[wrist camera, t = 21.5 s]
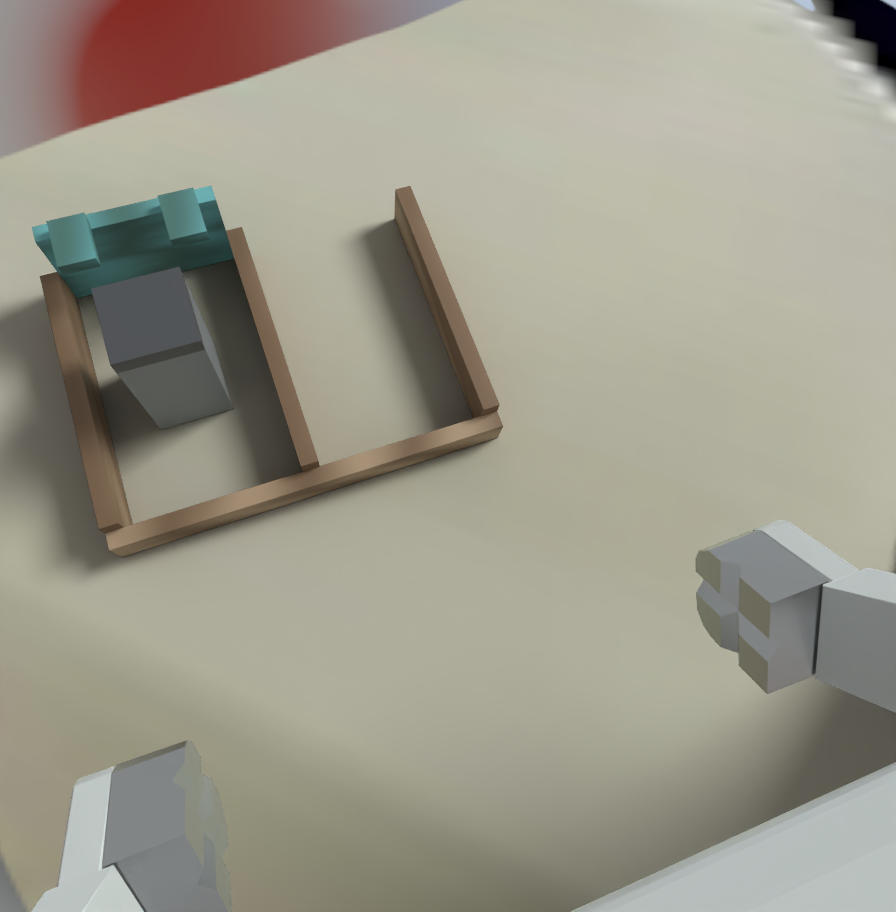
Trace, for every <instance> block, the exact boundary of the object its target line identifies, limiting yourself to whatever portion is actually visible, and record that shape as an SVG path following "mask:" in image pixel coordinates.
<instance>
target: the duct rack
mask: <svg viewBox="0 0 896 912" xmlns="http://www.w3.org/2000/svg"><path fill="white" fill-rule="evenodd" d="M395 221H396V223H397V226H398V228H399V231H400V234H401V236H402V239H403V241H404V244H405V246H406V249H407V251H408V254H409V256H410V259H411V261H412V264H413V266H414V269H415V271H416V274H417V277H418V279H419V282H420V284H421V287H422V289H423V292H424V294H425V297H426V299H427V302H428V304H429V307H430V309H431V312H432V314H433V317H434V320H435V322H436V325H437V327H438V330H439V332H440V335H441V337H442V340H443V342H444V345H445V347H446V350H447V352H448V355H449V357H450V360H451V363H452V365H453V368H454V370H455V373H456V375H457V378H458V380H459V383H460V385H461V388H462V390H463V393H464V395H465V398H466V400H467V403H468V406H469V408H470V411H471V413H472V416H473V419H470V420H467V421H464V422H461V423H457V424H454V425H451V426H448V427H444V428H441V429H438V430H435V431H432V432H428V433H425V434H422V435H419V436H416V437H412V438H409V439H406V440H403V441H399V442H396V443H393V444H390V445H387V446H383V447H380V448H377V449H374V450H371V451H367V452H364V453H361V454H358V455H354V456H351V457H348V458H345V459H342V460H338V461H335V462H332V463H329V464H326V465H322V466H319V462H318V459H317V456H316V453H315V449H314V446H313V443H312V440H311V437H310V434H309V431H308V428H307V425H306V422H305V419H304V416H303V413H302V410H301V407H300V404H299V400H298V397H297V394H296V391H295V388H294V385H293V382H292V379H291V376H290V373H289V370H288V367H287V364H286V361H285V358H284V355H283V352H282V348H281V345H280V342H279V339H278V336H277V333H276V330H275V327H274V324H273V321H272V318H271V315H270V312H269V309H268V306H267V303H266V299H265V296H264V293H263V290H262V287H261V284H260V281H259V278H258V275H257V272H256V269H255V266H254V263H253V260H252V257H251V254H250V251H249V247H248V244H247V241H246V238H245V235H244V232H243V229H242V227H240V228H236V229H232V230H227V231H226V230H225V227H224V224H223V221H222V218H221V214H220V211H219V208H218V205H217V202H216V199H215V196H214V193H213V189H212V186H208V187H204V188H199V189H195V190H194V189H193V188H189V189H185V190H180V191H176V192H172V193H167V194H163V195H159V196H158V198H156V199H152V200H147V201H143V202H139V203H134V204H130V205H126V206H121V207H117V208H113V209H108V210H104V211H100V212H96V213H91V214H87V215H85V214H84V213H81V214H76V215H72V216H68V217H63V218H59V219H55V220H50V221H46V222H47V224H44V225H39V226H35V227H32V230H33V234H34V238H35V242H36V244H37V245H38V246H39V248H40V249H41V250H42V252H43V253H44V254H45V256H46V257H47V258H48V260H49V261H50V262H51V264H52V265H53V267H54V268H55V269H56V271H57V272H55V273H51V274H47V275H43V276H40V279H41V283H42V288H43V292H44V296H45V301H46V305H47V309H48V313H49V318H50V322H51V326H52V331H53V335H54V339H55V343H56V348H57V352H58V356H59V361H60V365H61V369H62V373H63V378H64V382H65V386H66V391H67V395H68V399H69V404H70V408H71V412H72V416H73V421H74V425H75V429H76V434H77V438H78V442H79V446H80V451H81V455H82V459H83V464H84V468H85V472H86V477H87V481H88V485H89V489H90V494H91V498H92V502H93V507H94V511H95V515H96V519H97V524H98V528H99V529H100V530H101V531H103V532H104V533H105V534H106V538H107V543H108V547H109V550H110V551H111V552H113V553H115V554H117V555H118V556H120V557H124V556H127V555H130V554H133V553H136V552H139V551H143V550H146V549H149V548H152V547H155V546H158V545H161V544H165V543H168V542H171V541H174V540H177V539H180V538H183V537H186V536H190V535H193V534H196V533H199V532H202V531H205V530H208V529H212V528H215V527H218V526H221V525H224V524H227V523H230V522H234V521H237V520H240V519H243V518H246V517H249V516H252V515H256V514H259V513H262V512H265V511H268V510H271V509H274V508H278V507H281V506H284V505H287V504H290V503H293V502H296V501H300V500H303V499H306V498H309V497H312V496H315V495H318V494H321V493H325V492H328V491H331V490H334V489H337V488H340V487H343V486H347V485H350V484H353V483H356V482H359V481H362V480H365V479H369V478H372V477H375V476H378V475H381V474H384V473H387V472H391V471H394V470H397V469H400V468H403V467H406V466H409V465H413V464H416V463H419V462H422V461H425V460H428V459H431V458H435V457H438V456H441V455H444V454H447V453H450V452H453V451H457V450H460V449H463V448H466V447H469V446H472V445H475V444H478V443H482V442H485V441H488V440H491V439H494V438H497V437H498V436H499V434H500V431H501V429H502V427H503V425H502V422H501V420H500V417H499V415H498V412H497V410H498V407H499V402H498V400H497V397H496V395H495V392H494V390H493V388H492V385H491V383H490V380H489V378H488V375H487V373H486V370H485V368H484V366H483V363H482V361H481V358H480V356H479V353H478V351H477V348H476V346H475V343H474V341H473V339H472V336H471V334H470V331H469V329H468V326H467V324H466V321H465V319H464V317H463V314H462V312H461V309H460V307H459V304H458V302H457V299H456V297H455V294H454V292H453V290H452V287H451V285H450V282H449V280H448V277H447V275H446V272H445V270H444V267H443V265H442V263H441V260H440V258H439V255H438V253H437V250H436V248H435V245H434V243H433V241H432V238H431V236H430V233H429V231H428V228H427V226H426V223H425V221H424V218H423V216H422V214H421V211H420V209H419V206H418V204H417V201H416V199H415V196H414V194H413V192H412V189H411V187H410V186H408V187H404V188H400V189H396V190H395ZM231 259H235V261H236V265H237V268H238V271H239V274H240V277H241V280H242V283H243V287H244V290H245V293H246V296H247V299H248V302H249V305H250V308H251V312H252V315H253V318H254V321H255V324H256V327H257V330H258V334H259V337H260V340H261V343H262V346H263V349H264V352H265V355H266V359H267V362H268V365H269V368H270V371H271V374H272V377H273V381H274V384H275V387H276V390H277V393H278V396H279V399H280V402H281V406H282V409H283V412H284V415H285V418H286V421H287V424H288V428H289V431H290V434H291V437H292V440H293V443H294V446H295V449H296V453H297V456H298V459H299V462H300V465H301V468H302V471H303V472H300V473H297V474H293V475H290V476H287V477H284V478H281V479H277V480H274V481H271V482H268V483H265V484H261V485H258V486H255V487H252V488H248V489H245V490H242V491H239V492H236V493H232V494H229V495H226V496H223V497H220V498H216V499H213V500H210V501H207V502H203V503H200V504H197V505H194V506H191V507H187V508H184V509H181V510H178V511H175V512H171V513H168V514H165V515H162V516H158V517H155V518H152V519H149V520H146V521H142V522H139V523H136V524H132V520H131V516H130V512H129V508H128V504H127V499H126V495H125V491H124V487H123V483H122V479H121V475H120V471H119V467H118V463H117V459H116V455H115V451H114V447H113V443H112V439H111V435H110V431H109V426H108V422H107V418H106V414H105V410H104V406H103V402H102V398H101V394H100V390H99V386H98V382H97V378H96V374H95V370H94V366H93V362H92V358H91V353H90V349H89V345H88V341H87V337H86V333H85V329H84V325H83V321H82V317H81V313H80V309H79V305H78V301H77V298H79V297H83V296H87V295H91V294H92V290H91V288H95V287H99V286H103V285H107V284H111V283H115V282H119V281H123V280H127V279H131V278H135V277H139V276H144V275H148V274H152V273H156V272H160V271H164V270H168V269H172V268H176V267H180V269H181V271H182V272H183V271H187V270H191V269H195V268H199V267H203V266H207V265H211V264H215V263H219V262H223V261H227V260H231Z"/></svg>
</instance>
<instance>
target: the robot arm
mask: <svg viewBox="0 0 896 912" xmlns="http://www.w3.org/2000/svg"><path fill="white" fill-rule="evenodd" d="M696 572H697V573H698V574H699V575H700V576H701V577H702V578H703V579H704V580H703V582H702V584H701V585H700V587H699V589H698V591H697V592H696V597H697V610H698V612H699V615H700V618H701V620H702V623H703V625H704V627H705V628H706V630H707V632H708V633H709V635H710V636H711V637H712V638H713V639H714V640H715V642H716V643H717V644H718V645H719V646H720V647H722V648H725V649H728V650H731V651H734V652H737V653H738V657H739V666H740V667H741V668H742V669H743V670H744V671H745V672H746V673H747V674H748V675H749V676H750V677H751V678H752V679H753V680H754V681H755V682H756V683H757V684H758V685H759V686H760V687H761V688H762V689H763V690H764V691H765V692H766V693H767V694H769V693H771V692H774V691H777V690H779V689H782V688H784V687H787V686H790V685H792V684H795V683H797V682H800V681H802V680H805V679H808V678H810V677H813V676H815V679H818V680H820V681H822V682H824V683H827V684H829V685H831V686H834V687H836V688H838V689H841V690H843V691H845V692H848V693H850V694H852V695H855V696H857V697H859V698H861V699H864V700H866V701H868V702H871V703H873V704H875V705H878V706H880V707H882V708H885V709H887V710H889V711H892V712H894V713H896V574H895V573H891V572H886V571H882V570H877V569H873V568H868V567H867V568H864V569H862V570H858V569H857V568H855V567H854V566H852V565H851V564H850V563H848V562H847V561H845V560H844V559H842V558H841V557H839V556H838V555H837V554H835V553H834V552H832V551H831V550H829V549H828V548H826V547H825V546H824V545H822V544H821V543H819V542H818V541H816V540H815V539H813V538H812V537H811V536H809V535H808V534H806V533H805V532H803V531H802V530H800V529H799V528H798V527H796V526H795V525H793V524H792V523H790V522H788V521H785V520H781V519H779V520H777V521H774V522H771V523H769V524H766V525H764V526H761V527H759V528H756V529H753V530H752V531H750V532H746V533H744V534H741V535H739V536H736V537H733V538H731V539H728V540H725V541H723V542H720V543H718V544H715V545H712V546H710V547H707V548H704V549H702V550H699V552H698V554H697V557H696ZM227 846H228V836H227V825H226V820H225V815H224V810H223V806H222V802H221V800H220V797H219V794H218V791H217V789H216V787H215V785H214V782H213V780H212V778H209V777H207V776H204V775H202V774H201V757H200V755H199V753H198V751H197V749H196V748H195V746H194V744H193V742H192V741H188V740H186V741H184V742H181V743H178V744H175V745H172V746H169V747H166V748H163V749H160V750H157V751H155V752H152V753H149V754H146V755H143V756H140V757H137V758H134V759H131V760H129V761H126V762H123V763H120V764H117V765H116V766H114V767H111V768H108V769H105V770H102V771H99V772H96V773H93V774H90V775H87V776H84V777H81V778H79V779H78V781H77V783H76V784H75V786H74V788H73V790H72V796H71V802H70V809H69V815H68V821H67V827H66V833H65V839H64V846H63V852H62V858H61V864H60V870H59V877H58V883H57V887H56V888H53V889H51V890H48V891H46V892H45V893H44V894H43V895H42V897H41V898H40V900H39V901H38V902H37V904H36V905H35V906H34V908H33V909H32V911H31V912H232V901H231V883H230V873H229V871H228V869H227V867H226V865H225V863H224V861H223V859H222V855H223V853H224V851H225V849H226V848H227ZM570 912H896V762H895V763H892V764H890V765H888V766H886V767H884V768H882V769H879V770H877V771H875V772H873V773H871V774H868V775H866V776H864V777H862V778H860V779H858V780H855V781H853V782H851V783H849V784H847V785H844V786H842V787H840V788H838V789H836V790H834V791H831V792H829V793H827V794H825V795H823V796H821V797H818V798H816V799H814V800H812V801H810V802H808V803H805V804H803V805H801V806H799V807H797V808H795V809H792V810H790V811H788V812H786V813H784V814H781V815H779V816H777V817H775V818H773V819H771V820H768V821H766V822H764V823H762V824H760V825H758V826H755V827H753V828H751V829H749V830H747V831H745V832H742V833H740V834H738V835H736V836H734V837H732V838H729V839H727V840H725V841H723V842H721V843H719V844H716V845H714V846H712V847H710V848H708V849H706V850H703V851H701V852H699V853H697V854H695V855H693V856H690V857H688V858H686V859H684V860H682V861H679V862H677V863H675V864H673V865H671V866H669V867H666V868H664V869H662V870H660V871H658V872H656V873H653V874H651V875H649V876H647V877H645V878H642V879H640V880H638V881H636V882H634V883H631V884H629V885H627V886H625V887H623V888H621V889H618V890H616V891H614V892H612V893H610V894H607V895H605V896H603V897H601V898H599V899H596V900H594V901H592V902H590V903H588V904H586V905H583V906H581V907H579V908H577V909H575V910H572V911H570Z"/></svg>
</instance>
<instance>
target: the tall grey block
mask: <svg viewBox="0 0 896 912" xmlns="http://www.w3.org/2000/svg"><path fill="white" fill-rule="evenodd" d="M91 290H92V294H93V298H94V302H95V306H96V310H97V314H98V318H99V322H100V326H101V330H102V334H103V338H104V342H105V346H106V350H107V354H108V358H109V362H110V365H111V366H112V368H113V369H114V370H115V372H116V373H117V374H118V375H119V377H120V378H121V379H122V381H123V382H124V383H125V384H126V386H127V387H128V388H129V389H130V391H131V392H132V393H133V395H134V396H135V397H136V398H137V400H138V401H139V402H140V404H141V405H142V406H143V407H144V409H145V410H146V411H147V413H148V414H149V415H150V416H151V418H152V419H153V420H154V421H155V423H156V424H157V425H158V427H159V428H160V429H161V430H162V429H165V428H169V427H172V426H176V425H179V424H183V423H186V422H190V421H193V420H197V419H200V418H204V417H207V416H211V415H214V414H218V413H221V412H224V411H228V410H231V409H234V408H233V404H232V401H231V398H230V394H229V391H228V388H227V384H226V381H225V378H224V374H223V371H222V367H221V364H220V361H219V357H218V354H217V351H216V347H215V345H214V343H213V340H212V338H211V336H210V334H209V331H208V329H207V327H206V325H205V323H204V320H203V318H202V316H201V314H200V311H199V309H198V307H197V305H196V303H195V300H194V298H193V296H192V294H191V291H190V289H189V287H188V285H187V282H186V280H185V278H184V276H183V274H182V271H181V269H180V267H176V268H172V269H168V270H164V271H160V272H156V273H152V274H148V275H144V276H139V277H135V278H131V279H127V280H123V281H119V282H115V283H111V284H107V285H103V286H99V287H95V288H91Z"/></svg>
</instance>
